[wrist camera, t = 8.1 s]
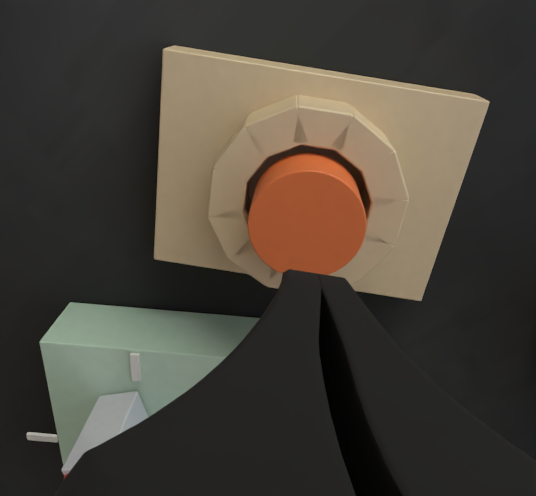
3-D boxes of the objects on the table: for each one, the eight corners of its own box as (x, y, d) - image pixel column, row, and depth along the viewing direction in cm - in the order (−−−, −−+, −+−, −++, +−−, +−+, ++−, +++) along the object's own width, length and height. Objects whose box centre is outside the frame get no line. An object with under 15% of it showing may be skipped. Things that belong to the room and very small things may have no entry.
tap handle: (181, 491, 23) (159, 579, 20) (146, 494, 24) (118, 582, 20) (138, 390, 21) (103, 471, 17) (99, 394, 21) (56, 476, 17)
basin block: (348, 324, 22) (355, 371, 19) (322, 485, 27) (325, 541, 24) (41, 299, 23) (4, 341, 20) (71, 462, 27) (44, 514, 25)
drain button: (371, 161, 16) (380, 180, 14) (346, 258, 17) (352, 287, 15) (260, 143, 15) (255, 161, 14) (246, 242, 17) (240, 269, 15)
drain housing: (476, 94, 17) (514, 113, 14) (413, 282, 21) (433, 331, 18) (173, 44, 17) (145, 53, 14) (162, 243, 21) (138, 285, 18)
